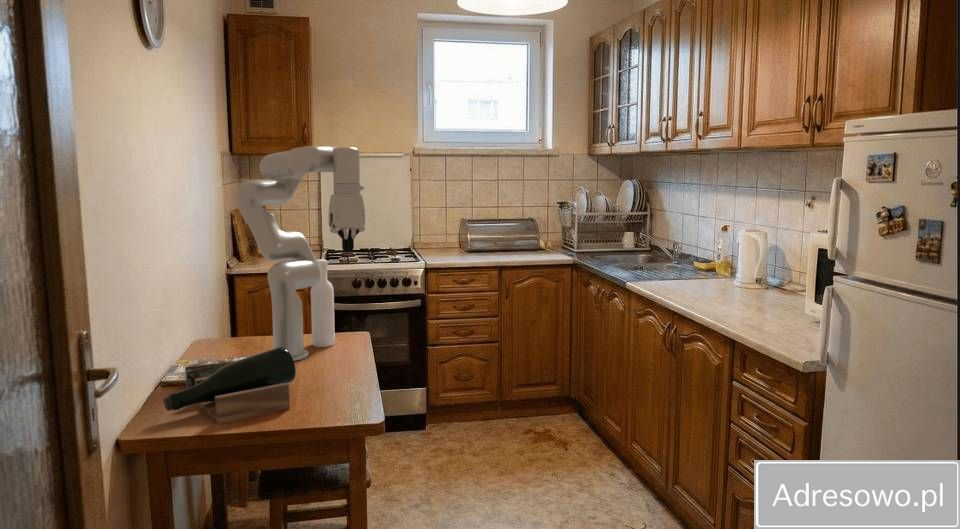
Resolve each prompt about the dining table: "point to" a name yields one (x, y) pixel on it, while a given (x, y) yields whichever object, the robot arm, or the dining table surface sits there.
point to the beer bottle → (238, 378)
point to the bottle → (322, 309)
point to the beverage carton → (201, 372)
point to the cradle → (247, 403)
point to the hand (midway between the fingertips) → (348, 252)
